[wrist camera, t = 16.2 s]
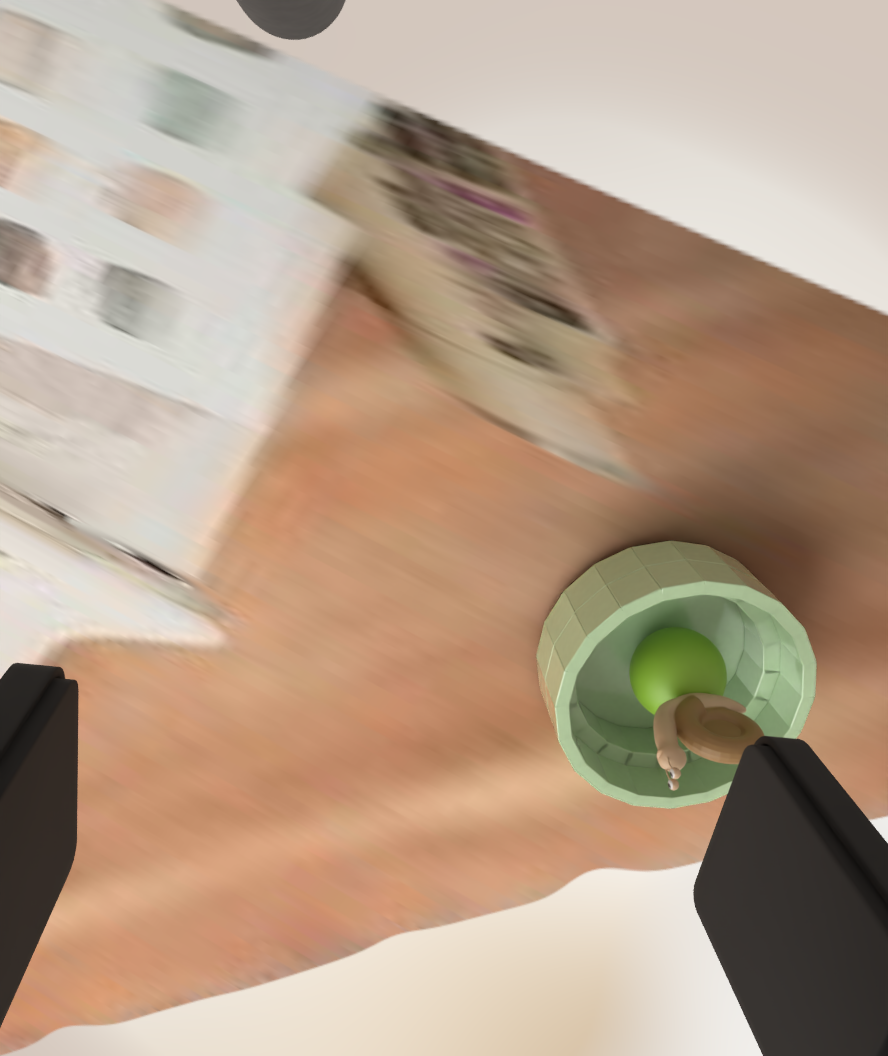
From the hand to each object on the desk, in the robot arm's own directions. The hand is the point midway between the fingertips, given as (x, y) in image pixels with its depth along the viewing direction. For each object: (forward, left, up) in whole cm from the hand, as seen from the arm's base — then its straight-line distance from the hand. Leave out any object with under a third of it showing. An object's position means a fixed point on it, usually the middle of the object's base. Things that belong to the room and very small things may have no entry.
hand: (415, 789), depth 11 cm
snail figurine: (+15, +19, -33) cm, 41 cm away
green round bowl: (+15, +19, -33) cm, 41 cm away
